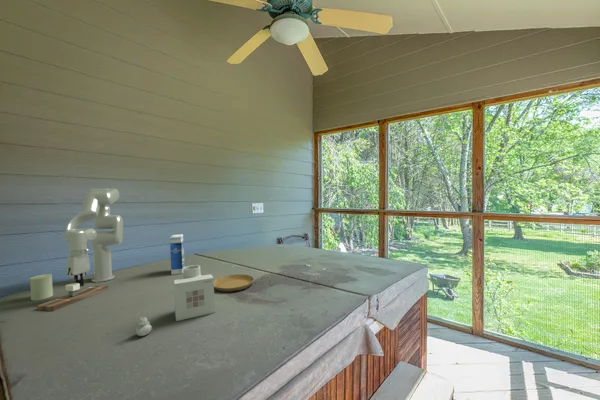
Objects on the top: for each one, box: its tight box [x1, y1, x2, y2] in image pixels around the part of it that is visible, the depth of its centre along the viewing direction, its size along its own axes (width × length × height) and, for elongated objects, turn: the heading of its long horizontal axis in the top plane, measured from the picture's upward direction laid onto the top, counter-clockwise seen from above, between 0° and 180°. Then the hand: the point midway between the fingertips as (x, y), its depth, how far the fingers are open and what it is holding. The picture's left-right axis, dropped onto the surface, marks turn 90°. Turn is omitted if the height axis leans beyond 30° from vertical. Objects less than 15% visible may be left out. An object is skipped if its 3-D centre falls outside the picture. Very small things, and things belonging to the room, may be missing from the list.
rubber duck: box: [135, 315, 153, 337], centre depth 109 cm, size 5×7×8 cm
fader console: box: [36, 284, 109, 312], centre depth 150 cm, size 10×30×2 cm, turn 168°
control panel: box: [173, 264, 216, 322], centre depth 131 cm, size 16×19×20 cm
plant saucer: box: [214, 273, 255, 293], centre depth 164 cm, size 24×24×3 cm
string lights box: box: [169, 233, 186, 275], centre depth 196 cm, size 13×8×26 cm, turn 17°
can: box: [29, 273, 54, 301], centre depth 153 cm, size 9×9×12 cm
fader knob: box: [64, 282, 81, 296], centre depth 148 cm, size 5×4×6 cm
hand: (80, 286), depth 152 cm, fingers closed
